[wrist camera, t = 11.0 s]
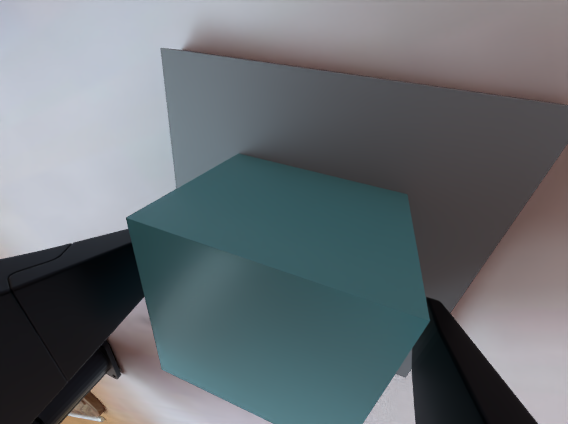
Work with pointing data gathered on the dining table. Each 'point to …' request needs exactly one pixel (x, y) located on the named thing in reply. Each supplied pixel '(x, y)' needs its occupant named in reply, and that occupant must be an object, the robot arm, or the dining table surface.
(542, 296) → the dining table surface
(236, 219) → the teal cube
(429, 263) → the thin grey square panel
